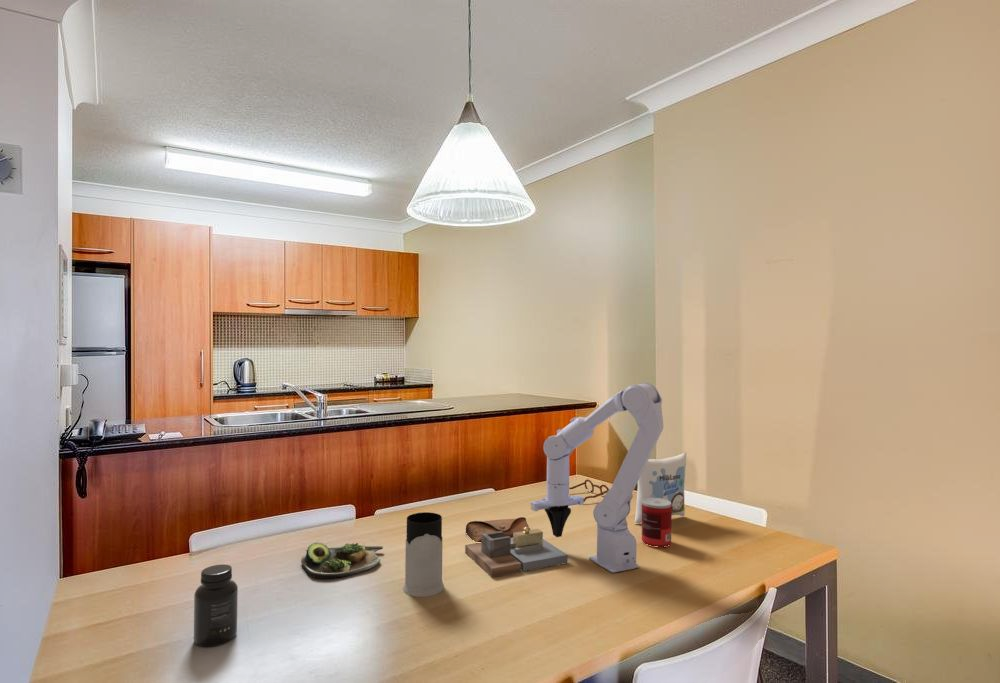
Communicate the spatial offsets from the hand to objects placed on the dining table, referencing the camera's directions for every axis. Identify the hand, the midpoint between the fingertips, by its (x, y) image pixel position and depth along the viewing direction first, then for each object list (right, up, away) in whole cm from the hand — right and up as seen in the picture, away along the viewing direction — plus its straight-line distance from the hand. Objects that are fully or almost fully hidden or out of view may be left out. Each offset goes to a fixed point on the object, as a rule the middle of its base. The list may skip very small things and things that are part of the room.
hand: (557, 535), depth 141 cm
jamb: (-16, -4, -8) cm, 19 cm away
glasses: (+14, -5, +50) cm, 52 cm away
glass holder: (-32, -4, -20) cm, 37 cm away
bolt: (-8, -2, -4) cm, 9 cm away
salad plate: (-53, -4, -10) cm, 54 cm away
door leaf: (-7, -4, -3) cm, 9 cm away
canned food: (+27, -4, +6) cm, 28 cm away
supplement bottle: (-65, -3, -43) cm, 78 cm away
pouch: (+34, -5, +25) cm, 42 cm away
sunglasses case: (-14, -4, +11) cm, 19 cm away
